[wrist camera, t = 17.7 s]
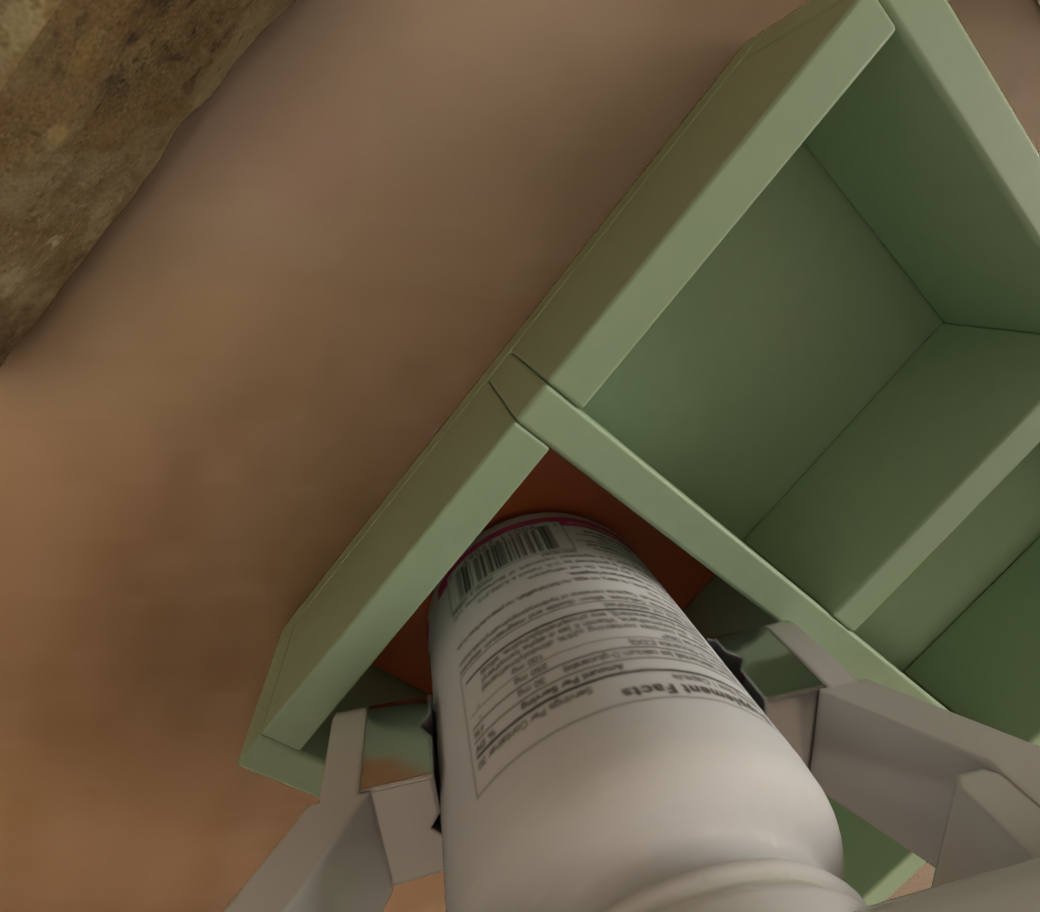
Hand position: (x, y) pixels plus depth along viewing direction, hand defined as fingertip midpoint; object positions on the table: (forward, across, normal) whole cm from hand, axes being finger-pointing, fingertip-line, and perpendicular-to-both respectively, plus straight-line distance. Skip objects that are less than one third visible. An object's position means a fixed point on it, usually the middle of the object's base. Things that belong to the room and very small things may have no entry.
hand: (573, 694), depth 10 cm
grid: (+4, -5, 0) cm, 6 cm away
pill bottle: (+3, 0, 0) cm, 3 cm away
